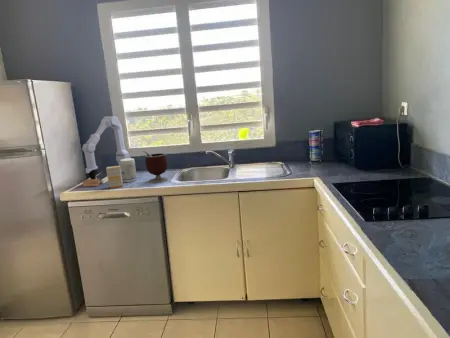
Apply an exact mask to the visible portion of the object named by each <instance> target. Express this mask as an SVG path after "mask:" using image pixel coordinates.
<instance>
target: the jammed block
mask: <svg viewBox="0 0 450 338" xmlns="http://www.w3.org/2000/svg"><path fill="white" fill-rule="evenodd" d="M87 179H88V180H87ZM87 179H84V180H82V185H83V187H86V188H87V187H97V186H99V185H101V180H100V178H97V179H89V178H87Z"/></svg>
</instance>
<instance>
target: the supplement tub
mask: <svg viewBox="0 0 450 338" xmlns="http://www.w3.org/2000/svg"><path fill="white" fill-rule="evenodd" d="M120 166H121V174H122V181H123V183H131V182H135V181H137V178H138V177H137V169H136V168H137V167H136V162H135V158H132V157H131V158H127V159H122V160H120Z"/></svg>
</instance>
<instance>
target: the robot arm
mask: <svg viewBox="0 0 450 338" xmlns="http://www.w3.org/2000/svg"><path fill="white" fill-rule="evenodd" d="M109 127H110V128H112V129H113V133H114V137H115V144H116V150H117V151H116V153H115V155H116V156H115V160H116V162H117V164H118V166H120V160H122V159H127V158H132V157H131V155H130V153H129V151H128V150H126V146H125V139H124V133H123V126H122V124H121V122H120V119H119V118H118V117H117V116H115V115H113V116H103V118H102V119H101V120H100V124H99V126H98V128H97V129H96V131H95V133H92V134H90V135H89V138H88V140H86V143H84V144H83V145H82V148H81V150H82V152H83V153H84V157H85V163H86V167H85V174H87V175H88V176H89V178H91V179H96V177H97V173H98V169H99V167H98V165H97V163H96V157H95V151H96V146H97V144H98V143H99V141H100V139H101V135H102V134H103V133H104V131H105V130H106V129H107V128H109ZM120 168H121V166H120Z"/></svg>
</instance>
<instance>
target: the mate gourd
mask: <svg viewBox="0 0 450 338" xmlns="http://www.w3.org/2000/svg"><path fill="white" fill-rule="evenodd" d="M142 152H143V153H145V154H146V155H145V167H146V171H147V172H148V173H149V174H150V175H154V176H155V177H154V178H150V179H149V180H148V182H149V183H152V184H153V183H154V184H157V183H164V182H166V181H168V180H169V178H167V177H166V176H165V177H164V176H161V175H163V174H165V173H166V171H167V169H168V159H167V155H166V153H163V152H162V153H161V152H159V153H158V152H157V153H150V152H148V151H146V150H143V151H142Z"/></svg>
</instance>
